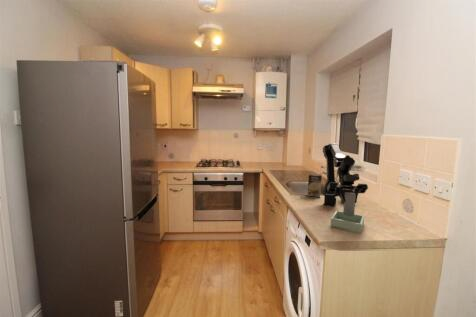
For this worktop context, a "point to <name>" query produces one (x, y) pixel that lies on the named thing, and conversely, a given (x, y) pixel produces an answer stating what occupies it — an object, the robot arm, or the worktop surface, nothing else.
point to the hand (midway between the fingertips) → (350, 202)
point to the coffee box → (314, 185)
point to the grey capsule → (349, 204)
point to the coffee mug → (346, 191)
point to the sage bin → (347, 222)
